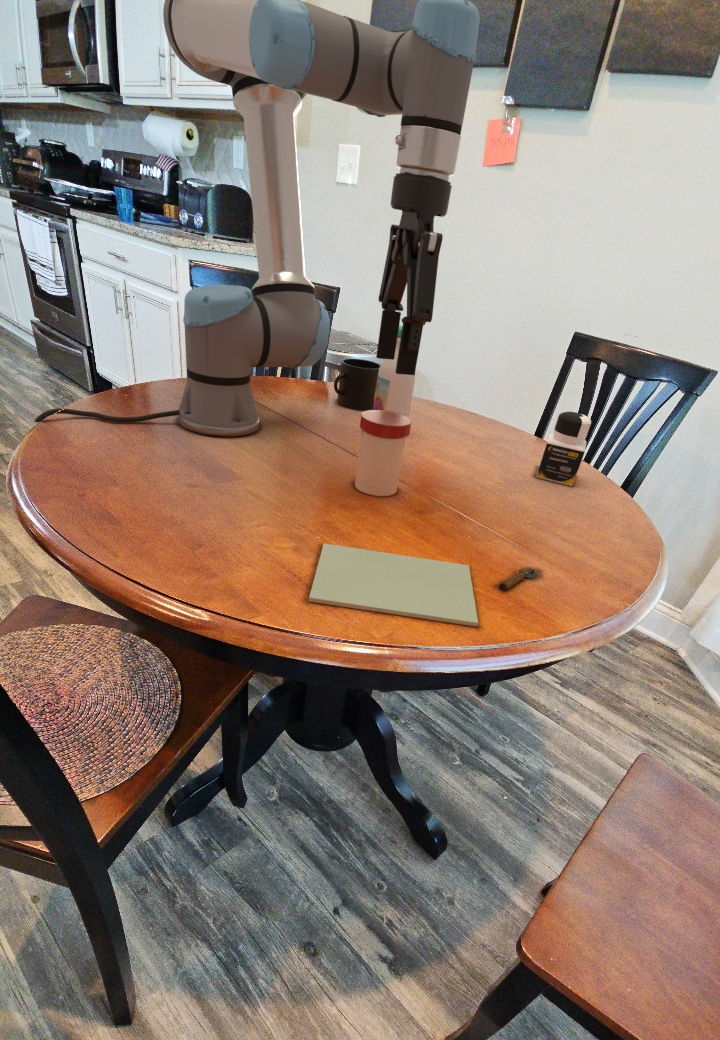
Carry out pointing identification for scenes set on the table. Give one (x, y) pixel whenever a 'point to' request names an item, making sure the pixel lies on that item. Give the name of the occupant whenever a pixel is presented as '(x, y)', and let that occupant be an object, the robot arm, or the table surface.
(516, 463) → the table surface
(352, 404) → the mug
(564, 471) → the medicine bottle
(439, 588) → the mat
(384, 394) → the milk bottle
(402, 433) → the lid
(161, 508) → the table surface
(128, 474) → the table surface
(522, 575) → the can opener
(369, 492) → the jar
